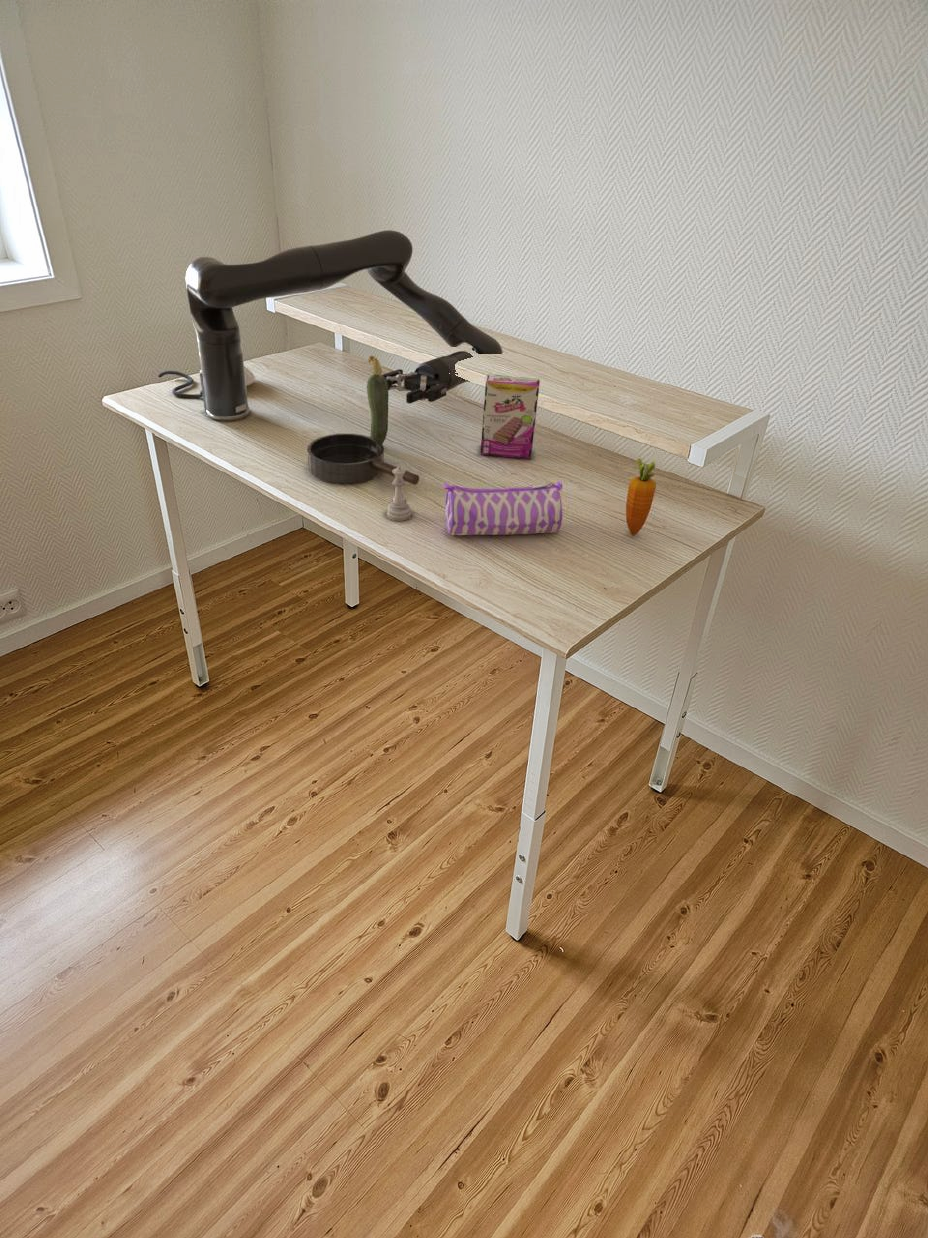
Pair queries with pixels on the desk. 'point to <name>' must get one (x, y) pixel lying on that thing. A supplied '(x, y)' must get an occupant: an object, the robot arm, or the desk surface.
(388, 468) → the pan handle
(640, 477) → the carrot
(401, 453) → the desk surface
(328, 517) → the desk surface
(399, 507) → the chess piece
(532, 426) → the candy bar box
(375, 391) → the vegetable
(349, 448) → the pan
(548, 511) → the pencil case
